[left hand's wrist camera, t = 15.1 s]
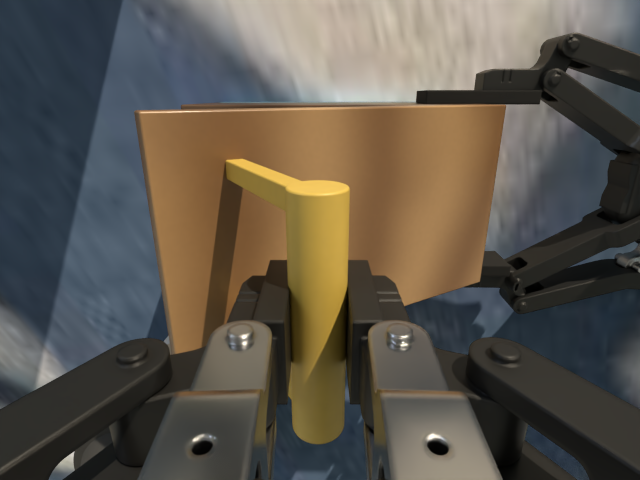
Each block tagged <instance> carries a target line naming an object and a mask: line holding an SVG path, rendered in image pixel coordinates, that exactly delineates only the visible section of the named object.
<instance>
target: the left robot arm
mask: <svg viewBox="0 0 640 480" xmlns="http://www.w3.org/2000/svg"><path fill="white" fill-rule="evenodd" d="M291 363H292V358H291V325H290V291H289V286H288V273H287V260H270V262H269V266H268V269H267V272H266V275H253V276H251V277H250V278H249V279H247V280H246V281H245V282H243V283H242V286H241V288H240V291H239V294H238V296H237V298H236V302H235V303H234V305H233V308H232V310H231V313H230V315H229V318H228V320H227V323H226V324H224V325H222V326H220V327H219V328H217V329H216V330H215V331H213V333H212V334H211V335H210V337H209V340H208V343H207V345H206V346H204V347H202V348H199V349H196V350H192V351H188V352H183V353H178V354H173V355H170V351H169V347H168V345H167V344H166V343H165V342H163V341H161V340H158V339H153V338H142V339H135V340H130V341H127V342H124V343H121V344H119V345H117V346H115V347H113V348H111V349H109V350H107V351H106V352H104V353H102V354H100V355H98V356H97V357H95V358H93V359H91V360H89V361H87V362H86V363H84V364H82V365H80V366H78V367H77V368H75V369H73V370H71V371H69V372H67V373H66V374H64V375H62V376H60V377H58V378H57V379H55V380H53V381H51V382H49V383H47V384H46V385H44V386H42V387H40V388H38V389H36V390H35V391H33V392H31V393H29V394H27V395H26V396H24V397H22V398H20V399H18V400H16V401H15V402H13V403H11V404H9V405H7V406H6V407H4V408H2V409H0V480H48V479H49V477H50V475H51V473H52V471H53V470H54V468H55V467H56V466H57V465H58V464H59V463H60V462H61V461H62V460H63V459H64V458H65V457H67V456H68V455H70V454H71V453H72V452H74V451H75V450H77V449H78V448H79V447H81V446H82V445H84V444H85V443H86V442H88V441H89V440H91V439H92V438H93V437H95V436H96V435H98V434H99V433H100V432H102V431H103V430H105V429H106V428H107V427H109V428H110V433H111V437H112V441H113V442H112V443H111V444H110V445H108V446H107V447H106V448H104V449H103V450H102V451H100V452H99V453H98V454H96V455H95V456H94V457H92V458H91V459H90V460H88V461H87V462H86V463H84V464H83V465H82V466H80V467H79V468H78V469H76V470H75V471H74V472H72V473H71V474H70V475H68V476H67V477H66V478H64V479H63V480H273V474H274V460H275V446H276V431H277V430H276V407H277V404H287V401H288V391H289V382H290V372H291ZM346 365H347V376H348V386H349V397H350V404H360V405H361V413H362V417H363V419H364V430H363V432H364V446H365V460H366V474H367V480H577V479H576V478H574V477H573V476H572V475H570V474H569V473H568V472H566V471H565V470H564V469H562V468H561V467H560V466H558V465H557V464H556V463H554V462H553V461H552V460H550V459H549V458H548V457H546V456H545V455H544V454H542V453H541V452H540V451H538V450H537V449H536V448H534V447H533V446H532V445H530V444H529V443H528V442H526V441H525V435H526V431H527V427H528V425H530V426H531V427H533V428H534V429H535V430H537V431H538V432H540V433H541V434H542V435H544V436H545V437H547V438H548V439H549V440H551V441H552V442H554V443H555V444H556V445H558V446H559V447H561V448H562V449H563V450H565V451H566V452H568V453H569V454H570V455H572V456H573V457H574V458H576V459H577V460H578V461H579V462H580V464H581V465H582V466H583V467H584V469H585V470H586V472H587V474H588V476H589V479H590V480H640V409H638V408H636V407H634V406H633V405H631V404H629V403H627V402H625V401H624V400H622V399H620V398H618V397H616V396H614V395H613V394H611V393H609V392H607V391H605V390H603V389H602V388H600V387H598V386H596V385H594V384H593V383H591V382H589V381H587V380H585V379H583V378H582V377H580V376H578V375H576V374H574V373H573V372H571V371H569V370H567V369H565V368H563V367H562V366H560V365H558V364H556V363H554V362H553V361H551V360H549V359H547V358H545V357H543V356H542V355H540V354H538V353H536V352H534V351H533V350H531V349H529V348H527V347H525V346H523V345H521V344H519V343H517V342H514V341H511V340H507V339H503V338H495V337H488V338H481V339H478V340H476V341H474V342H473V343H472V344H471V345H470V347H469V353H468V355H465V354H460V353H455V352H450V351H445V350H441V349H438V348H435V347H434V345H433V343H432V340H431V337H430V335H429V334H428V333H427V331H425V330H424V329H423V328H421V327H420V326H418V325H416V324H413V323H411V322H410V319H409V317H408V314H407V312H406V309H405V307H404V304H403V302H402V299H401V296H400V294H399V291H398V289H397V286H396V284H395V283H394V282H393V281H392V280H391V279H389V278H388V277H387V276H385V275H372V273H371V270H370V266H369V263H368V260H348V287H347V329H346Z"/></svg>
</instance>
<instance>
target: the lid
mask: <svg viewBox="0 0 640 480" xmlns="http://www.w3.org/2000/svg"><path fill="white" fill-rule="evenodd" d="M505 109H506V105H493V104H480V105H421V106H362V107H303V108H244V109H185V110H136V111H135V112H134V114H135V121H136V127H137V134H138V140H139V147H140V153H141V160H142V166H143V173H144V179H145V186H146V192H147V199H148V205H149V212H150V218H151V225H152V231H153V238H154V244H155V251H156V257H157V264H158V270H159V277H160V283H161V289H162V296H163V302H164V309H165V315H166V322H167V328H168V335H169V341H170V348H171V354H172V355H173V354H178V353H183V352H188V351H192V350H196V349H199V348H202V347H204V346H206V345H207V343H208V340H209V337H210V335H211V334H212V333H213V331H215V330H216V329H217V328H219V327H220V326H222V325H224V324H226V323H227V320H228V318H229V315H230V313H231V310H232V308H233V305H234V303H235V302H236V298H237V296H238V294H239V291H240V288H241V286H242V283H243V282H245V281H246V280H247V279H249V278H250V277H251V276H253V275H266V272H267V269H268V266H269V262H270V260H287V273H288V286H289V291H290V325H291V358H292V363H291V372H290V382H289V391H288V396H289V397H290V399H291V400H292V425H293V429H294V431H295V433H296V434H297V436H298V437H299V438H301V439H302V440H304V441H305V442H308V443H312V444H325V443H328V442H331V441H333V440H335V439H336V438H337V437H338V436H339V435H340V434H341V432H342V430H343V428H344V412H345V370H346V329H347V287H348V260H368V263H369V266H370V270H371V273H372V275H385V276H387V277H388V278H389V279H391V280H392V281H393V282H394V283H395V284H396V286H397V289H398V291H399V294H400V296H401V299H402V302H403V304H404V306H406V305H410V304H413V303H416V302H419V301H422V300H425V299H428V298H431V297H434V296H437V295H440V294H444V293H447V292H450V291H453V290H456V289H459V288H462V287H465V286H468V285H471V284H474V283H478V282H480V276H481V270H482V263H483V256H484V250H485V243H486V236H487V230H488V223H489V216H490V210H491V203H492V196H493V190H494V183H495V176H496V170H497V163H498V156H499V149H500V143H501V136H502V129H503V123H504V116H505Z"/></svg>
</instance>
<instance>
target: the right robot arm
mask: <svg viewBox="0 0 640 480" xmlns="http://www.w3.org/2000/svg"><path fill="white" fill-rule="evenodd" d="M540 54H541V55H540V57H539V59H538V61H537V63H536V64H535V65H534V66H533V67H532V68H530V69H491V70H485V71H483V72H480V73H478V74H476V80H475V88H474V90H426V91H417V98H416V103H420V104H540V99H541V100H542V101H543V102H545V103H546V104H548V105H549V106H551V107H552V108H554V109H555V110H556V111H558V112H559V113H561V114H562V115H564V116H565V117H567V118H568V119H569V120H571V121H572V122H574V123H575V124H577V125H578V126H579V127H581V128H582V129H584V130H585V131H587V132H588V133H590V134H591V135H592V136H594V137H595V138H597V139H598V140H600V141H601V142H600V143H601V144H602V145H603V146H605V147H606V148H607V149H609V150H610V151H612V152H613V153H615V154H616V155H618V156H617V157H616V159H615V160H610V164H609V168H608V184H607V186H606V188H605V190H604V192H603V194H602V197H601V201H600V205H599V206H601V207H602V208H600V209H598V210H596V211H594V212H592V213H590V214H588V215H586V216H584V217H583V220H582V221H581V222H580V223H578V224H576V225H574V226H572V227H570V228H568V229H566V230H563V231H561V232H559V233H557V234H555V235H553V236H551V237H549V238H547V239H545V240H543V241H541V242H539V243H537V244H535V245H533V246H531V247H529V248H527V249H525V250H523V251H521V252H519V253H517V254H515V255H513V256H511V257H509V258H507V259H505V260H504V259H503V258H502V257H501V256H500V255H498V254H497V253H496V252H495V251H484V256H483V263H482V270H481V276H480V282H478V283H474V284H471V285H468V286H465V287H494V288H500V290H499V293H500V295H501V296H502V297H503V299H504V300H505V301H506V302H507V303H508V304H509V305H510V307H511V308H512V309H513V310H514V311H515V312H516V313H518V314H524V313H529V312H533V311H537V310H541V309H545V308H549V307H553V306H557V305H561V304H566V303H570V302H574V301H578V300H582V299H586V298H590V297H594V296H598V295H603V294H607V293H611V292H615V291H619V290H623V289H640V126H639V125H638V124H636V123H635V122H634V121H632V120H631V119H629V118H628V117H627V116H625V115H624V114H622V113H621V112H620V111H618V110H617V109H615V108H614V107H613V106H611V105H610V104H608V103H607V102H606V101H604V100H603V99H602V98H600V97H599V96H597V95H596V94H595V93H593V92H592V91H590V90H589V89H588V88H586V87H585V86H583V85H582V84H581V83H579V82H578V81H576V80H575V79H574V78H572V77H571V76H569V75H568V74H567V73H565V72H566V70H567V68H570V69H573V70H576V71H579V72H582V73H585V74H588V75H591V76H594V77H596V78H599V79H602V80H605V81H608V82H611V83H614V84H617V85H620V86H623V87H625V88H628V89H631V90H634V91H637V92H640V54H637V53H634V52H631V51H628V50H625V49H623V48H620V47H617V46H614V45H611V44H608V43H606V42H603V41H600V40H597V39H594V38H591V37H589V36H586V35H583V34H580V33H571V34H567V35H563V36H559V37H555V38H552V39H549V40H546V41H545V42H544V43H543V45H542V46H541V49H540ZM613 223H614V224H613ZM634 241H635V242H637V243H638V246H637V248H636V249H635V250H633V251H632V252H629V253H624V254H622V253H618V254H616V255H615V259H604V260H598V261H593V262H589V263H586V264H582V265H578V266H574V267H570V266H572V265H574V264H576V263H578V262H581V261H583V260H585V259H587V258H589V257H591V256H593V255H595V254H597V253H600V252H602V251H604V250H606V249H608V248H612V247H617V248H618V247H623V246H626V245H628V244H630V243H632V242H634ZM568 267H570V268H568Z"/></svg>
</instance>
